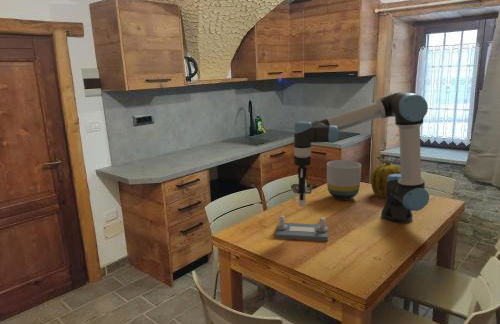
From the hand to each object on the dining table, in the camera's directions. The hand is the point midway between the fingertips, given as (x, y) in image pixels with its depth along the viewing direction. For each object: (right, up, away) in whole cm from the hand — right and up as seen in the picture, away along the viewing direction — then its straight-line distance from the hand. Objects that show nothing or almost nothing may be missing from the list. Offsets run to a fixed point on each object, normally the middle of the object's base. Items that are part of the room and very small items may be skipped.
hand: (302, 204), depth 178 cm
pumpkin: (+58, -1, +52) cm, 78 cm away
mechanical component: (0, 0, 0) cm, 1 cm away
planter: (+31, -2, +50) cm, 59 cm away
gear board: (0, -14, +3) cm, 14 cm away
